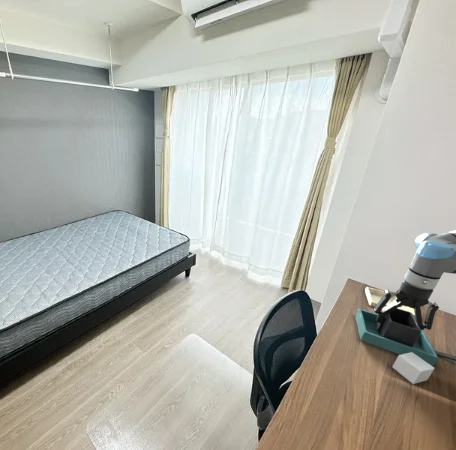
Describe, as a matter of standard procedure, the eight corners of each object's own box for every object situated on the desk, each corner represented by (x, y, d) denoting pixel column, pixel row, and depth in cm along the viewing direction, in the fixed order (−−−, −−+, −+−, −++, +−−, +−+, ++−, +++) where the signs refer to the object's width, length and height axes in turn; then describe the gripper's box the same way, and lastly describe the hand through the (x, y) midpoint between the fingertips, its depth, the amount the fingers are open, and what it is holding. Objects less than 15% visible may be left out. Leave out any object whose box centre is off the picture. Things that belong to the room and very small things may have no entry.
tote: (417, 337, 95) (422, 328, 93) (432, 367, 82) (438, 357, 81) (354, 316, 104) (358, 308, 102) (359, 341, 92) (364, 331, 90)
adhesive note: (426, 381, 78) (435, 368, 75) (412, 385, 76) (421, 372, 74) (404, 364, 83) (412, 351, 81) (391, 368, 82) (398, 355, 79)
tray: (408, 302, 114) (410, 298, 114) (417, 321, 103) (420, 316, 102) (364, 290, 122) (366, 286, 121) (369, 306, 111) (371, 301, 110)
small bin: (402, 330, 95) (411, 312, 92) (410, 350, 86) (421, 331, 83) (375, 322, 99) (384, 304, 95) (381, 340, 90) (390, 321, 87)
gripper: (381, 279, 86) (359, 328, 94) (467, 301, 76) (434, 354, 84) (377, 269, 92) (357, 317, 100) (457, 289, 82) (427, 339, 90)
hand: (392, 334), depth 92 cm, fingers closed on small bin, 8 cm apart
